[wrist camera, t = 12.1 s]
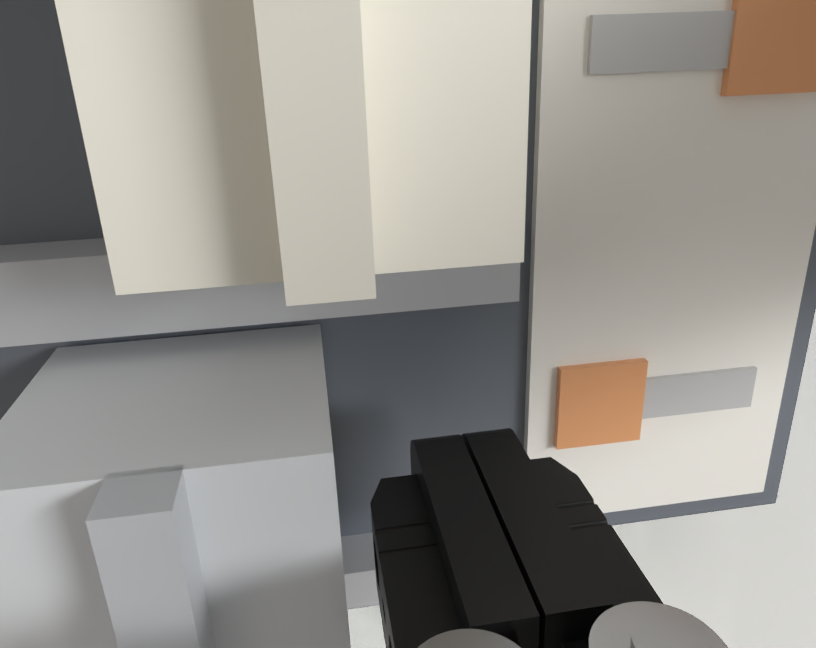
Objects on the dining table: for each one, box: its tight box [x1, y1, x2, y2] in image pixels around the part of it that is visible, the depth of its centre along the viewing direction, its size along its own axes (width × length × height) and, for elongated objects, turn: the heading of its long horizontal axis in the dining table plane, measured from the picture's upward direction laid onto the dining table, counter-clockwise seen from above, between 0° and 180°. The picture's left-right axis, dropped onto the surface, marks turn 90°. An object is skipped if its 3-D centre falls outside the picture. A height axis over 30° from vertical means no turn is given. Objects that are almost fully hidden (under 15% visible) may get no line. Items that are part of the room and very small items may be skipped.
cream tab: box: [54, 0, 532, 306], centre depth 7 cm, size 4×4×4 cm
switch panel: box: [0, 0, 816, 610], centre depth 11 cm, size 12×24×3 cm, turn 92°
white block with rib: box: [0, 324, 351, 648], centre depth 9 cm, size 4×4×4 cm
